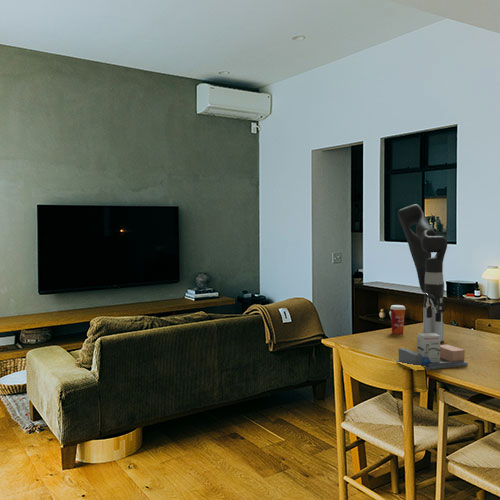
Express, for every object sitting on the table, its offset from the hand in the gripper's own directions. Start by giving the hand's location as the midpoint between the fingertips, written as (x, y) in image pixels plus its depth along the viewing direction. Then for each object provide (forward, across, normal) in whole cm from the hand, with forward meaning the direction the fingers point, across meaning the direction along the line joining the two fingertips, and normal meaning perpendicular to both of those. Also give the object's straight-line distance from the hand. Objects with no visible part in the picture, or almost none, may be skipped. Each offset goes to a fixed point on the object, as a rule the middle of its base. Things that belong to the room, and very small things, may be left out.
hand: (433, 319), depth 222 cm
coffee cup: (+20, -62, +8) cm, 65 cm away
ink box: (+18, +1, -3) cm, 18 cm away
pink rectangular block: (+18, -1, +8) cm, 19 cm away
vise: (+19, +1, -1) cm, 19 cm away
